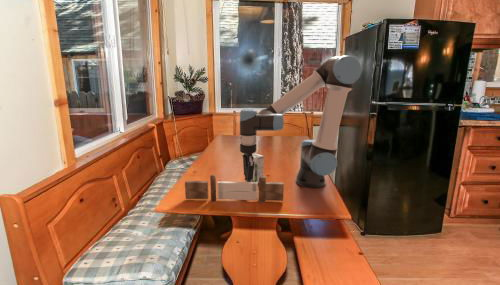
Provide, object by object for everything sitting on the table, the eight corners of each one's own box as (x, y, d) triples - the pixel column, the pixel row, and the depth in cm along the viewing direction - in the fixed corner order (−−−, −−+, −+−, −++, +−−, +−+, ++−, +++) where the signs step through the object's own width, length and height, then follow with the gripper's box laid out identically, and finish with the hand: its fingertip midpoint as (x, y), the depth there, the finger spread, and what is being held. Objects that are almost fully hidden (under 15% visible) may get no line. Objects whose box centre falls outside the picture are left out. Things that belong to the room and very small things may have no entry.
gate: (217, 199, 131) (217, 182, 129) (218, 197, 133) (217, 181, 131) (257, 200, 130) (257, 183, 128) (257, 198, 132) (257, 182, 130)
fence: (282, 200, 133) (283, 175, 130) (283, 203, 130) (284, 178, 127) (187, 198, 134) (185, 173, 131) (185, 201, 131) (184, 176, 128)
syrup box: (248, 181, 155) (248, 155, 152) (255, 178, 159) (256, 153, 156) (255, 184, 151) (256, 157, 148) (263, 181, 155) (264, 155, 152)
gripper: (237, 140, 138) (237, 187, 143) (243, 147, 125) (243, 198, 131) (252, 139, 139) (252, 185, 145) (260, 146, 127) (259, 196, 133)
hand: (248, 191), depth 138 cm, fingers closed
